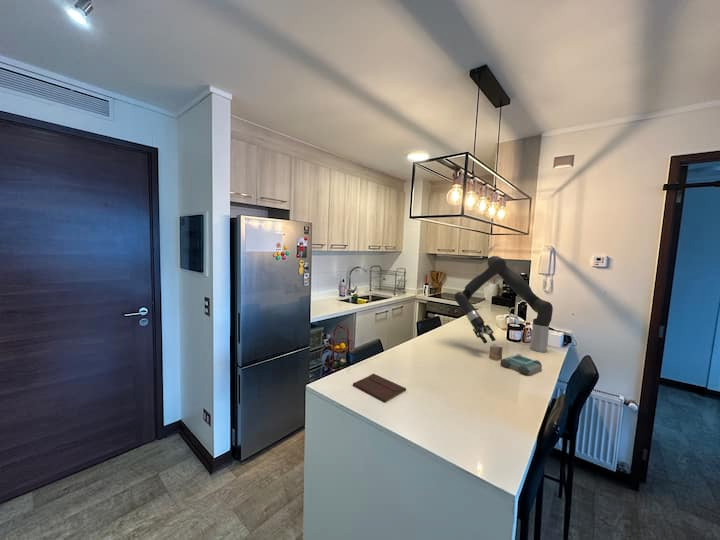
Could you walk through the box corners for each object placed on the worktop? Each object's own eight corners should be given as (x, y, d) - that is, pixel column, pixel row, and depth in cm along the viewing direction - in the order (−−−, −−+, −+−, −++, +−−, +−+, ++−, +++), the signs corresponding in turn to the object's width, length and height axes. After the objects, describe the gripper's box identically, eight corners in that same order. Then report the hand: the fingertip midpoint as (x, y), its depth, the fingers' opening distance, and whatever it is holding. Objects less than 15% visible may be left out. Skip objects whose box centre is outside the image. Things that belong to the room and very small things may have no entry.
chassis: (513, 359, 174) (514, 351, 174) (542, 370, 161) (543, 361, 160) (499, 365, 165) (499, 356, 165) (528, 376, 152) (529, 367, 152)
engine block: (493, 356, 179) (494, 343, 178) (501, 359, 175) (502, 346, 174) (489, 357, 176) (490, 344, 175) (497, 360, 172) (498, 347, 171)
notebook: (385, 404, 122) (385, 399, 122) (352, 386, 136) (352, 382, 136) (406, 391, 133) (406, 387, 133) (373, 376, 147) (374, 373, 147)
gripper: (472, 317, 180) (487, 340, 172) (485, 314, 188) (501, 337, 180) (464, 323, 185) (479, 346, 177) (477, 320, 193) (492, 342, 184)
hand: (490, 341), depth 178 cm, fingers open, 8 cm apart
